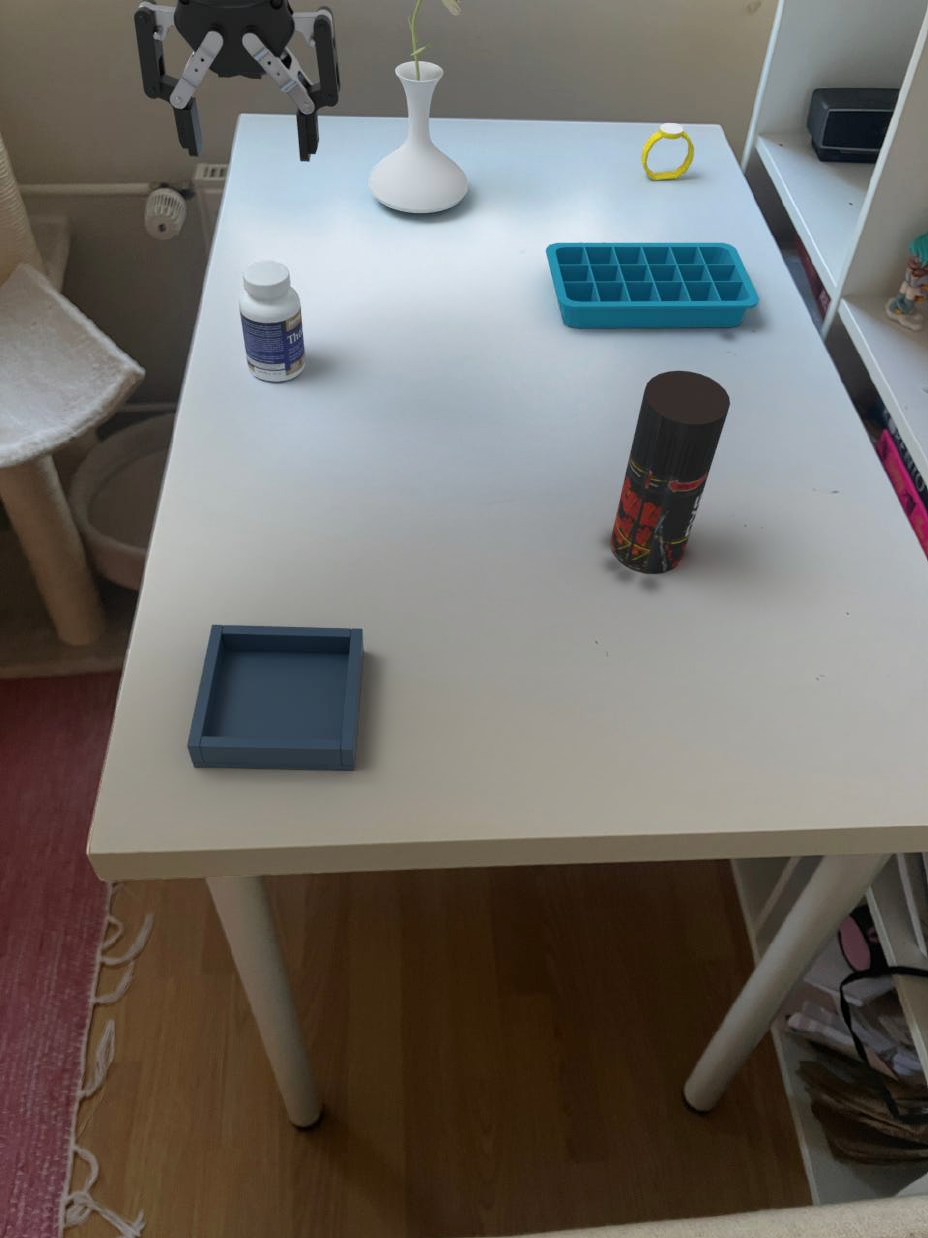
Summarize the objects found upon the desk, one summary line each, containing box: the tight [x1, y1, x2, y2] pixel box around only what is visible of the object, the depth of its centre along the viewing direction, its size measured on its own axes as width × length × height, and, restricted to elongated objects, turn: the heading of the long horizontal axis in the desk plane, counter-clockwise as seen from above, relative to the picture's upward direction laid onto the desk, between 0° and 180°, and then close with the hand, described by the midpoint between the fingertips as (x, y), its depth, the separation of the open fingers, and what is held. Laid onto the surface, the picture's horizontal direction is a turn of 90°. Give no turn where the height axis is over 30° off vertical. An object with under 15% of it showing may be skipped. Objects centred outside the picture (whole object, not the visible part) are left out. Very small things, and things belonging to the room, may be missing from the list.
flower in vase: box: [367, 0, 469, 214], centre depth 106 cm, size 13×11×25 cm
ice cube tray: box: [545, 242, 760, 329], centre depth 103 cm, size 12×20×3 cm, turn 94°
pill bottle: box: [238, 260, 306, 382], centre depth 90 cm, size 5×5×10 cm
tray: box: [186, 624, 365, 771], centre depth 69 cm, size 11×10×3 cm
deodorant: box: [610, 370, 731, 575], centre depth 75 cm, size 6×6×15 cm
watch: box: [640, 122, 695, 182], centre depth 118 cm, size 6×3×6 cm, turn 97°
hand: (251, 154), depth 79 cm, fingers open, 8 cm apart
